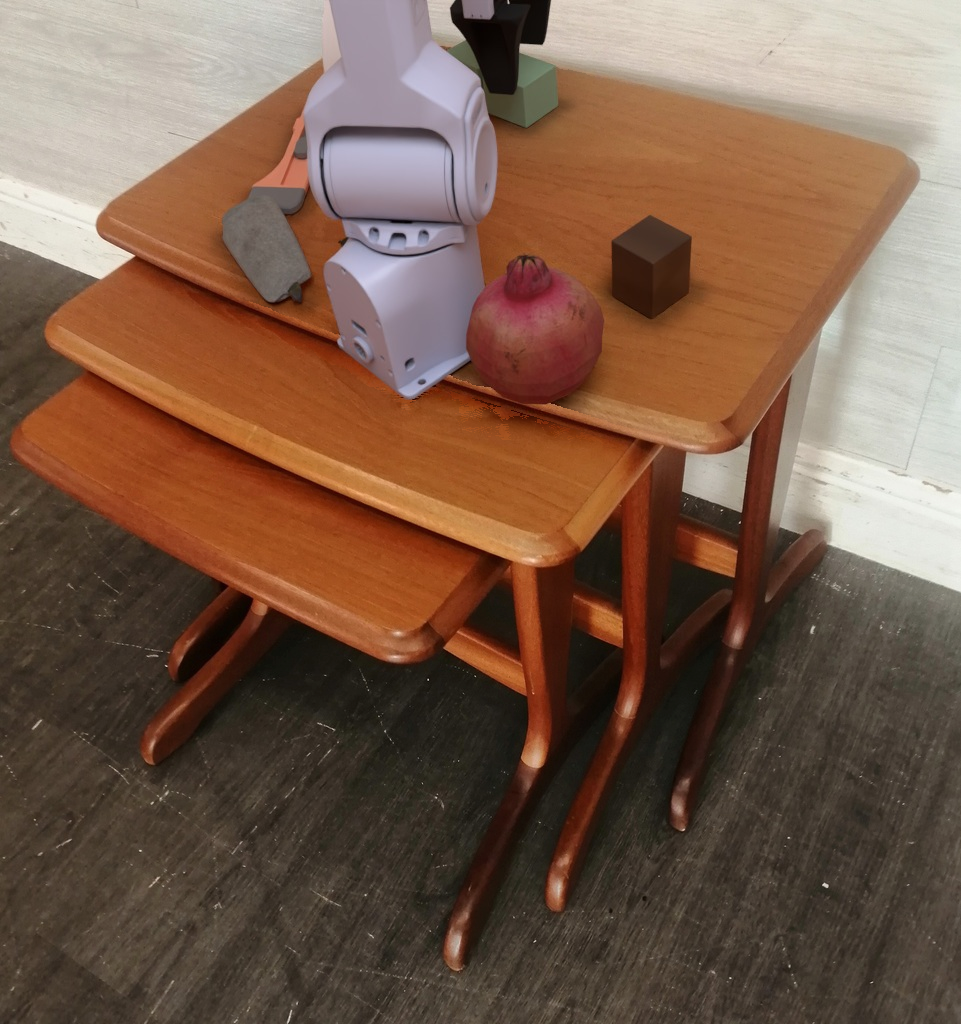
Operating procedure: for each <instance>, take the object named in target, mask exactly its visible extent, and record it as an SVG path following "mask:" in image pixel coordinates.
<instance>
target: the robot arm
mask: <svg viewBox="0 0 961 1024" xmlns="http://www.w3.org/2000/svg"><path fill="white" fill-rule="evenodd" d="M329 2H330V7H331V11H332V16H333V21H334V26H335V30H336V35H337V40H338V44H339V49H340V54H341V58H340V59H339V60H338V61H336V62H335V63H334V64H333V65H332V66H331V67H330V68H329V69H328V70H327V71H326V72H325V73H324V72H323V74H322V75H321V76H320V77H319V78H318V79H317V81H315V83H314V84H313V86H312V88H311V90H310V91H309V93H308V96H307V99H306V102H305V104H306V105H305V104H304V106H305V108H304V107H303V109H304V111H303V110H302V111H303V120H304V125H305V131H306V138H307V147H308V150H307V169H308V178H309V183H310V185H309V188H310V191H311V193H312V196H313V198H314V200H315V202H316V203H317V205H318V206H319V208H320V210H321V211H322V213H323V214H324V215H325V216H326V217H327V218H328V219H330V220H337V221H338V220H340V221H341V222H342V227H343V231H344V235H345V238H347V237H349V239H348V240H347V242H346V243H345V245H344V246H343V247H340V248H339V249H338V250H337V252H336V253H335V254H333V256H331V257H330V258H329V259H327V261H326V262H325V263H324V265H323V269H322V271H323V272H322V275H323V281H324V284H325V289H326V292H327V296H328V299H329V302H330V305H331V308H332V309H331V310H332V313H333V315H334V318H335V322H336V326H337V329H338V333H339V338H338V339H337V341H336V342H337V346H338V347H339V349H340V350H342V351H343V352H345V353H346V354H347V355H348V356H350V357H351V358H353V360H355V361H356V362H357V363H359V364H360V365H361V366H362V367H364V368H365V369H366V370H368V371H369V372H370V373H372V375H374V376H375V377H376V378H378V379H379V380H380V381H382V382H383V383H384V384H385V385H387V386H388V387H389V388H391V390H392V391H394V392H395V393H397V394H398V395H399V396H400V397H402V398H403V399H405V400H409V401H411V400H414V399H416V398H418V397H419V396H421V395H422V394H424V393H425V392H426V391H428V390H429V389H431V388H432V387H434V386H435V385H437V384H438V383H440V382H441V381H443V380H444V379H445V378H447V377H448V376H450V375H451V374H452V373H454V372H456V371H457V370H459V369H460V368H461V367H463V366H464V365H466V364H467V363H468V362H470V361H471V359H470V357H469V354H468V352H467V350H466V334H467V329H468V325H469V320H470V316H471V312H472V307H473V305H474V303H475V301H476V299H477V297H478V296H479V295H480V293H481V292H482V291H483V290H484V288H485V287H486V285H485V278H484V271H483V264H482V263H483V262H482V255H481V249H480V242H479V236H478V235H479V233H478V228H477V227H478V225H480V224H481V223H482V222H483V220H484V219H485V218H486V216H488V214H489V213H490V211H491V209H492V206H493V204H494V200H495V194H496V188H497V182H498V181H497V180H498V145H497V143H498V142H497V137H496V130H495V128H494V125H493V123H492V121H491V119H490V116H489V115H490V114H489V113H488V111H487V106H486V100H485V94H484V90H483V89H482V88H481V81H480V78H479V77H478V76H477V75H476V74H475V73H474V72H473V71H472V70H470V69H469V68H468V67H466V66H465V65H464V64H463V63H461V62H460V61H459V60H457V59H456V58H454V57H453V56H452V55H450V54H449V53H448V52H446V50H445V49H444V48H443V47H441V45H439V44H438V43H437V42H436V41H435V40H434V39H433V34H432V27H431V19H430V12H429V5H428V0H329ZM551 5H552V0H454V1H453V2H452V4H451V5H450V7H449V14H450V19H451V23H452V24H453V25H454V26H455V28H457V30H458V31H459V32H460V34H461V35H462V36H463V38H464V39H465V40H466V41H467V42H468V44H469V46H470V47H471V49H472V51H473V53H474V55H475V58H476V60H477V63H478V65H479V68H480V70H481V73H482V76H483V78H484V81H485V84H486V86H487V88H488V91H489V93H492V94H505V95H513V94H514V93H515V91H516V88H517V84H518V75H519V53H520V47H521V45H531V46H532V45H534V46H535V45H536V46H543V45H544V43H545V41H546V37H547V33H548V28H549V20H550V12H551Z"/></svg>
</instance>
